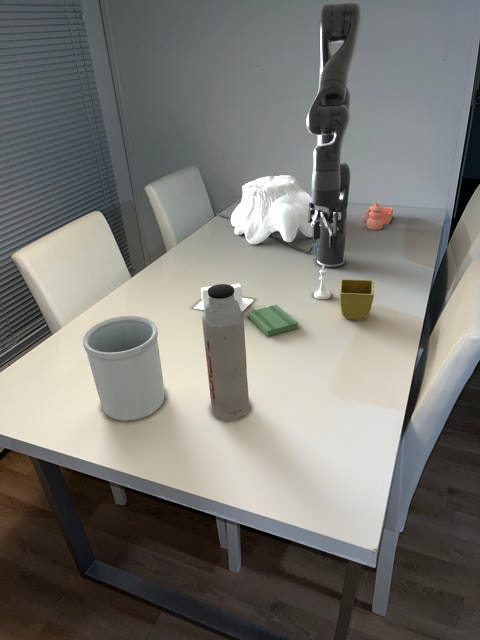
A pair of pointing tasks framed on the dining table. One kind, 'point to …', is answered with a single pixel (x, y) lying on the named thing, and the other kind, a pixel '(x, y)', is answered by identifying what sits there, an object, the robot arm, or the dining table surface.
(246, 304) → the napkin holder
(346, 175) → the robot arm
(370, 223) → the pottery
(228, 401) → the thermos bottle
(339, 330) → the dining table surface
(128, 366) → the utensil holder
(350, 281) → the flower pot
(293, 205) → the tree stump
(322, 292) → the chess piece
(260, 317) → the green flat rectangular block
